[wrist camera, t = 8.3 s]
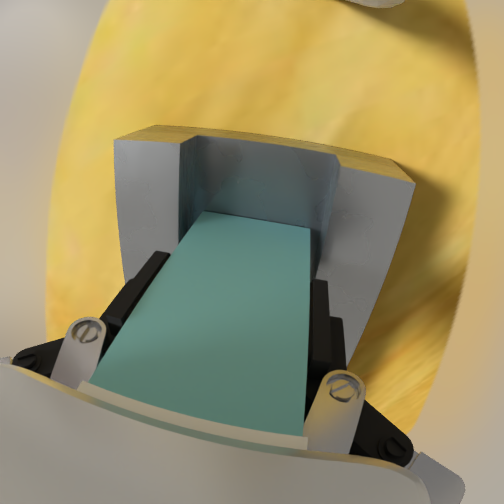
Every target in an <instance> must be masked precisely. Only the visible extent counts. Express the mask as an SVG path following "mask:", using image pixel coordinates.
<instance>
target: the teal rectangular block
mask: <svg viewBox="0 0 504 504" xmlns="http://www.w3.org/2000/svg"><path fill="white" fill-rule="evenodd" d="M309 305H310V228H304V227H298V226H292V225H287V224H281V223H275V222H269V221H263V220H257V219H251V218H244V217H238V216H232V215H225V214H219V213H212V212H206V211H203V212H202V213H201V214H200V216H199V217H198V218H197V220H196V221H195V222H194V224H193V225H192V227H191V228H190V229H189V231H188V232H187V233H186V235H185V236H184V238H183V239H182V240H181V242H180V243H179V244H178V246H177V247H176V249H175V250H174V251H173V253H172V254H171V256H170V257H169V259H168V260H167V261H166V263H165V264H164V266H163V267H162V269H161V270H160V271H159V273H158V274H157V276H156V277H155V279H154V280H153V282H152V283H151V285H150V286H149V287H148V289H147V290H146V292H145V293H144V295H143V296H142V298H141V299H140V301H139V302H138V304H137V305H136V307H135V308H134V310H133V311H132V313H131V314H130V316H129V317H128V319H127V321H126V322H125V324H124V325H123V327H122V328H121V330H120V331H119V333H118V334H117V336H116V338H115V339H114V341H113V342H112V344H111V345H110V347H109V349H108V350H107V352H106V353H105V355H104V357H103V358H102V360H101V362H100V363H99V365H98V366H97V368H96V370H95V371H94V373H93V375H92V376H91V378H90V380H89V381H88V382H85V381H83V380H82V382H81V383H80V385H79V387H78V388H77V391H79V392H82V393H84V394H87V395H89V396H92V397H94V398H97V399H99V400H102V401H104V402H107V403H110V404H112V405H115V406H118V407H121V408H123V409H126V410H129V411H132V412H135V413H138V414H141V415H144V416H147V417H150V418H154V419H157V420H160V421H164V422H167V423H171V424H174V425H178V426H181V427H185V428H189V429H193V430H197V431H201V432H205V433H209V434H214V435H218V436H223V437H227V438H232V439H237V440H242V441H248V442H253V443H259V444H265V445H272V446H279V447H286V448H294V449H301V450H307V445H308V437H303V425H304V411H305V396H306V380H307V361H308V337H309Z"/></svg>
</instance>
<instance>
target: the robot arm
mask: <svg viewBox="0 0 504 504" xmlns="http://www.w3.org/2000/svg"><path fill="white" fill-rule="evenodd" d="M170 256H171V254H170V253H168V252H162V251H155V252H154V253H153V254H152V256H151V257H150V258H149V259H148V261H147V262H146V263H145V264H144V266H143V267H142V268H141V269H140V271H139V272H138V273H137V275H136V276H135V277H134V278H132V279H130V280H129V281H128V282H127V283H126V284H125V285H124V287H123V288H122V289H121V291H120V292H119V293H118V295H117V296H116V297H115V298H114V300H113V301H112V302H111V304H110V305H109V306H108V308H107V309H106V310H105V312H104V313H103V314H102V316H101V317H100V318H99V319H98V318H94V317H84V318H81V319H78V320H76V321H75V322H74V323H72V324H71V325H70V327H69V329H68V331H67V333H66V336H65V338H61V339H58V340H55V341H51V342H48V343H44V344H41V345H37V346H34V347H30V348H27V349H24V350H22V351H20V352H19V353H18V354H16V356H15V357H14V359H11V357H5V358H0V504H460V502H461V500H462V498H463V496H464V493H465V484H464V482H463V480H462V478H460V477H459V476H458V475H457V474H455V473H454V472H452V471H450V470H449V469H447V468H446V467H444V466H442V465H441V464H439V463H438V462H436V461H435V460H433V459H432V458H430V457H429V456H427V455H426V454H424V453H423V452H420V453H419V454H418V453H417V452H416V451H414V449H413V444H412V442H411V440H410V439H409V438H408V437H407V436H406V435H405V434H404V433H403V432H402V431H401V430H399V429H398V428H397V427H396V426H395V425H393V424H392V423H391V422H390V421H389V420H388V419H386V418H385V417H384V416H383V415H382V414H381V413H380V412H378V411H377V410H376V409H375V408H374V407H373V406H371V405H370V404H369V403H368V402H367V401H366V400H365V395H366V388H365V385H364V383H363V381H362V380H361V379H360V378H359V377H358V376H357V375H356V374H354V373H352V372H350V371H347V366H346V352H345V339H344V327H343V319H342V318H340V317H333V316H330V310H329V293H328V281H326V280H320V279H315V278H313V280H312V282H310V305H309V337H308V361H307V380H306V396H305V411H304V425H303V437H308V445H307V450H301V449H294V448H286V447H279V446H272V445H265V444H259V443H253V442H248V441H242V440H237V439H232V438H227V437H223V436H218V435H214V434H209V433H205V432H201V431H197V430H193V429H189V428H185V427H181V426H178V425H174V424H171V423H167V422H164V421H160V420H157V419H154V418H150V417H147V416H144V415H141V414H138V413H135V412H132V411H129V410H126V409H123V408H121V407H118V406H115V405H112V404H110V403H107V402H104V401H102V400H99V399H97V398H94V397H92V396H89V395H87V394H84V393H82V392H79V391H77V388H78V387H79V385H80V383H81V382H82V380H83V381H85V382H88V381H89V380H90V378H91V376H92V375H93V373H94V371H95V370H96V368H97V366H98V365H99V363H100V362H101V360H102V358H103V357H104V355H105V353H106V352H107V350H108V349H109V347H110V345H111V344H112V342H113V341H114V339H115V338H116V336H117V334H118V333H119V331H120V330H121V328H122V327H123V325H124V324H125V322H126V321H127V319H128V317H129V316H130V314H131V313H132V311H133V310H134V308H135V307H136V305H137V304H138V302H139V301H140V299H141V298H142V296H143V295H144V293H145V292H146V290H147V289H148V287H149V286H150V285H151V283H152V282H153V280H154V279H155V277H156V276H157V274H158V273H159V271H160V270H161V269H162V267H163V266H164V264H165V263H166V261H167V260H168V259H169V257H170Z"/></svg>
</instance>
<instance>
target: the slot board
mask: <svg viewBox="0 0 504 504" xmlns="http://www.w3.org/2000/svg"><path fill="white" fill-rule="evenodd" d="M114 169H115V189H116V204H117V217H118V228H119V238H120V247H121V256H122V264H123V271H124V278H125V284H126V283H127V282H128V281H129V280H130V279H132V278H134V277H135V276H136V275H137V273H138V272H139V271H140V269H141V268H142V267H143V266H144V264H145V263H146V262H147V261H148V259H149V258H150V257H151V256H152V254H153V253H154V252H155V251H162V252H168V253H170V254H172V253H173V251H174V250H175V249H176V247H177V246H178V244H179V243H180V242H181V240H182V239H183V238H184V236H185V235H186V233H187V232H188V231H189V229H190V228H191V227H192V225H193V224H194V222H195V221H196V220H197V218H198V217H199V216H200V214H201V213H202V212H203V211H206V212H212V213H219V214H225V215H232V216H238V217H244V218H251V219H257V220H263V221H269V222H275V223H281V224H287V225H292V226H298V227H304V228H310V282H312V280H313V278H315V279H320V280H326V281H328V293H329V310H330V316H333V317H340V318H342V319H343V327H344V339H345V352H346V366H348V363H349V361H350V359H351V357H352V355H353V353H354V351H355V349H356V347H357V344H358V342H359V340H360V338H361V336H362V333H363V331H364V329H365V326H366V324H367V322H368V320H369V317H370V315H371V312H372V310H373V308H374V305H375V303H376V300H377V298H378V295H379V293H380V290H381V288H382V285H383V283H384V280H385V277H386V275H387V272H388V269H389V267H390V264H391V261H392V258H393V255H394V253H395V250H396V247H397V244H398V241H399V238H400V235H401V232H402V229H403V226H404V223H405V219H406V216H407V213H408V210H409V206H410V203H411V199H412V196H413V192H414V189H415V185H416V183H415V182H414V181H413V180H412V179H411V178H410V177H409V176H408V175H407V174H406V173H405V172H404V171H403V170H402V169H401V168H399V167H398V166H397V165H396V164H395V163H394V162H393V161H392V160H391V159H387V158H383V157H379V156H375V155H371V154H366V153H362V152H357V151H353V150H348V149H343V148H338V147H333V146H328V145H323V144H318V143H312V142H306V141H301V140H295V139H288V138H282V137H275V136H268V135H261V134H253V133H245V132H236V131H227V130H217V129H206V128H194V127H180V126H162V125H154V126H151V127H148V128H145V129H142V130H139V131H136V132H133V133H130V134H128V135H125V136H122V137H120V138H117V139H114Z"/></svg>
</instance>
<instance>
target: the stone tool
mask: <svg viewBox="0 0 504 504" xmlns="http://www.w3.org/2000/svg"><path fill="white" fill-rule="evenodd" d="M347 1H350V2H353V3H356V4H359V5H363V6H367V7H373V8H392V7H394V6H396V5H398V4H401V3H403V2H404V1H405V0H347Z"/></svg>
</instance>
